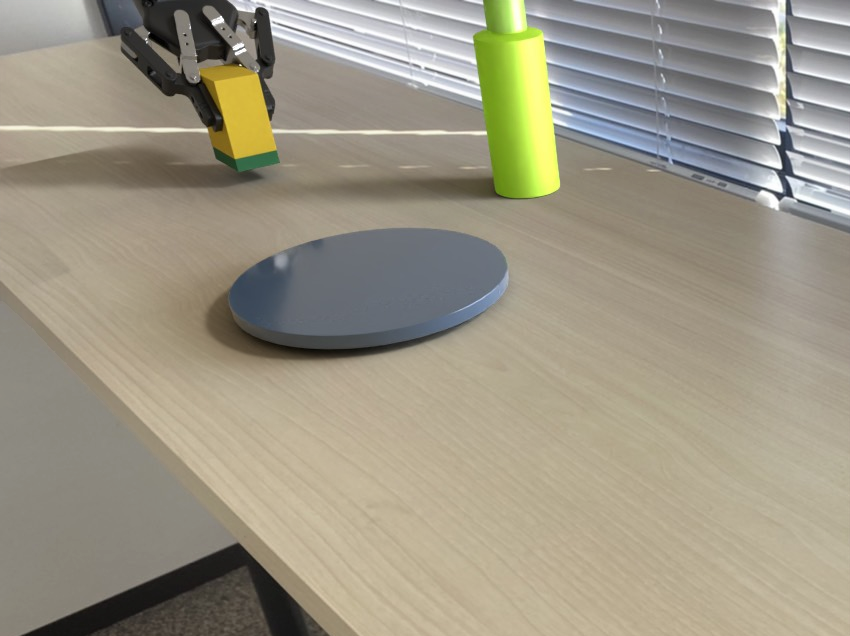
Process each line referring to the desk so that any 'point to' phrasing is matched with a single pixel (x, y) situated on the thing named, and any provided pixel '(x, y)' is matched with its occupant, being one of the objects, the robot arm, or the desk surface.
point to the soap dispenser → (516, 102)
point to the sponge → (240, 118)
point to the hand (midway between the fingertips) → (244, 120)
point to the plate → (369, 288)
